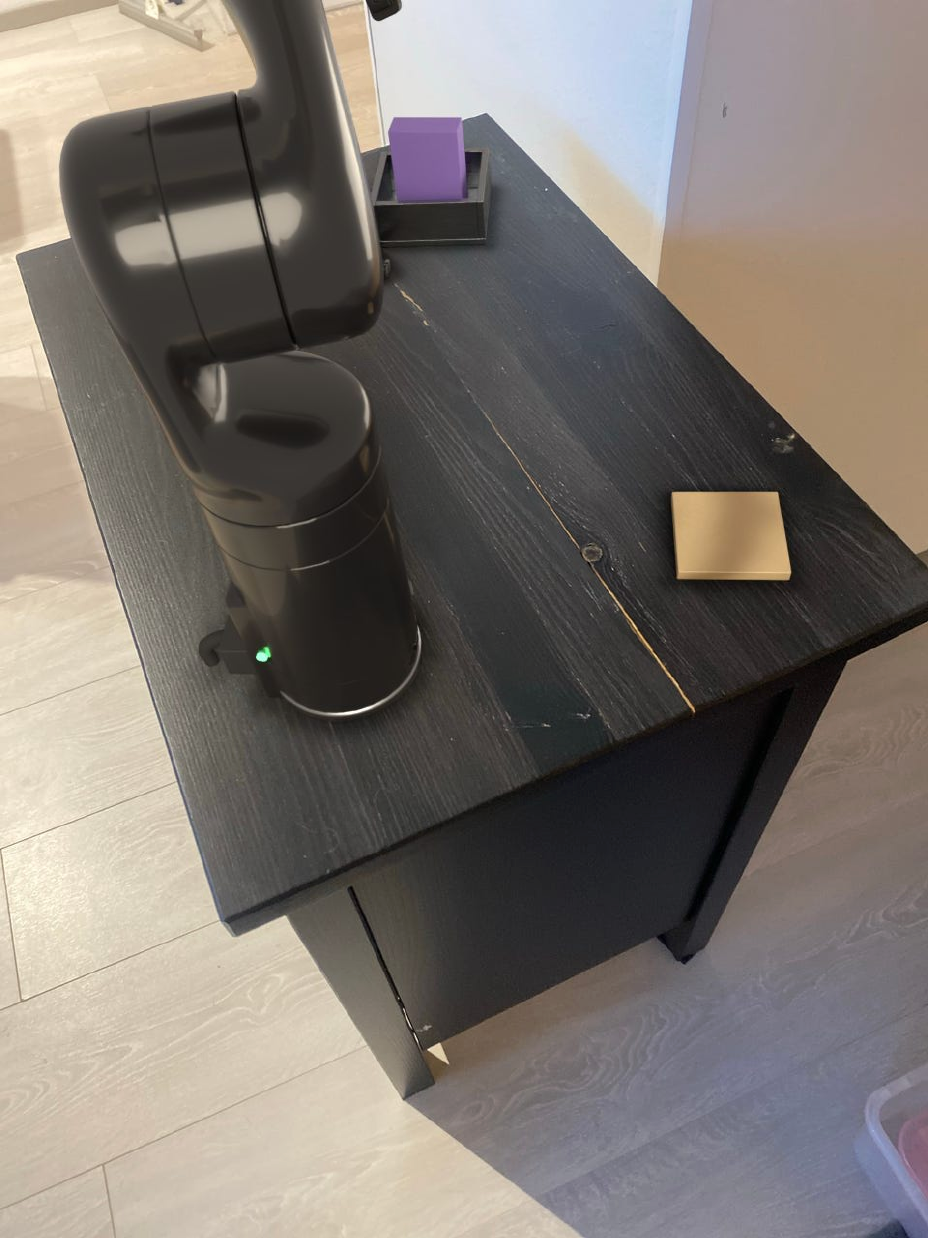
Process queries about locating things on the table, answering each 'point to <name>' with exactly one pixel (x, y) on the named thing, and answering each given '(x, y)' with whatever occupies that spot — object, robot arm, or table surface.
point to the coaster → (729, 536)
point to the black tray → (434, 208)
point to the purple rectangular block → (428, 158)
